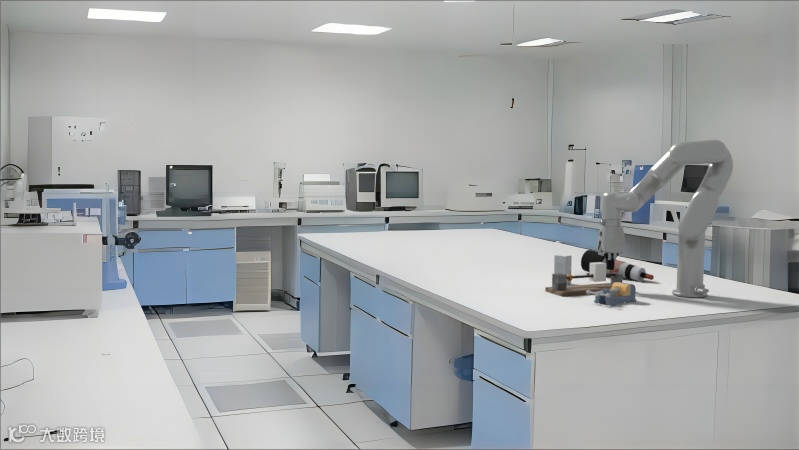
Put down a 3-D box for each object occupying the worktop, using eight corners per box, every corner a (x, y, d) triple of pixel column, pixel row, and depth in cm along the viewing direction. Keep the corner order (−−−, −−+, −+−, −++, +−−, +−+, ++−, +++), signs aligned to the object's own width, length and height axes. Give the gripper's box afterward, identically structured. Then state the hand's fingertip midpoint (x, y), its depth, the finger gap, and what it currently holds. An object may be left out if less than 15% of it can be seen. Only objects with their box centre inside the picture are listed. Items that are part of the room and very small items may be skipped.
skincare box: (571, 284, 323) (572, 255, 321) (565, 285, 320) (565, 256, 319) (559, 282, 327) (560, 254, 326) (553, 283, 324) (553, 254, 323)
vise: (616, 298, 293) (617, 280, 292) (639, 302, 284) (640, 284, 284) (585, 303, 282) (585, 285, 281) (608, 308, 274) (608, 289, 273)
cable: (647, 293, 325) (643, 274, 321) (583, 275, 351) (578, 257, 347) (660, 280, 330) (657, 261, 326) (596, 263, 356) (592, 245, 351)
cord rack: (627, 291, 305) (628, 272, 304) (561, 296, 295) (562, 276, 294) (609, 286, 316) (609, 268, 316) (545, 291, 306) (545, 272, 305)
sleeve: (605, 281, 306) (606, 263, 305) (595, 281, 304) (595, 264, 303) (599, 279, 310) (600, 262, 309) (589, 280, 308) (589, 262, 307)
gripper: (600, 225, 301) (599, 271, 302) (633, 223, 306) (631, 270, 308) (589, 223, 308) (588, 269, 309) (621, 222, 313) (619, 267, 315)
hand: (609, 269), depth 308 cm, fingers closed
